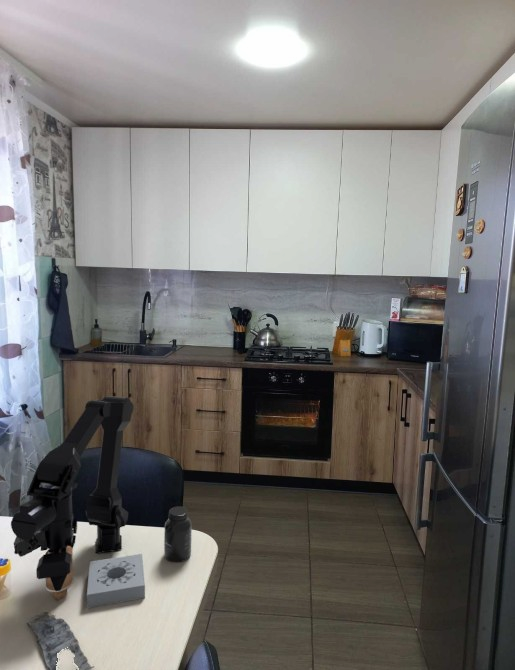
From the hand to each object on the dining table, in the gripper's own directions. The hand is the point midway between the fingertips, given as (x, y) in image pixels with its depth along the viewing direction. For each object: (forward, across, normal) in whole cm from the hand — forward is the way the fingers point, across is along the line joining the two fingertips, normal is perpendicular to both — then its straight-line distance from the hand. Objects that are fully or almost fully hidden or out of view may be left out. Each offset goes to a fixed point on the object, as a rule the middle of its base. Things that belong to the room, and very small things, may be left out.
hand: (59, 581), depth 100 cm
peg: (+3, 0, 0) cm, 3 cm away
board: (+3, 0, +12) cm, 12 cm away
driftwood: (+4, +15, +1) cm, 16 cm away
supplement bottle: (+3, -8, +27) cm, 28 cm away
